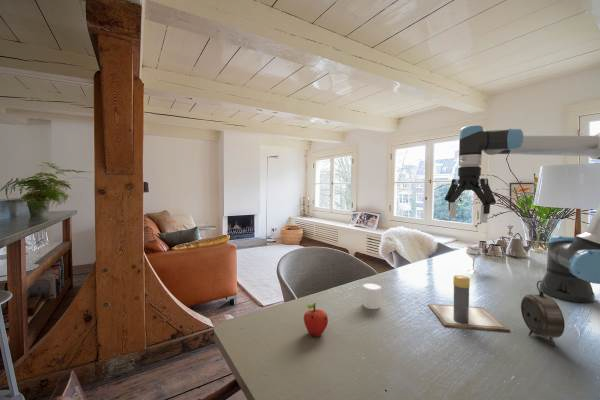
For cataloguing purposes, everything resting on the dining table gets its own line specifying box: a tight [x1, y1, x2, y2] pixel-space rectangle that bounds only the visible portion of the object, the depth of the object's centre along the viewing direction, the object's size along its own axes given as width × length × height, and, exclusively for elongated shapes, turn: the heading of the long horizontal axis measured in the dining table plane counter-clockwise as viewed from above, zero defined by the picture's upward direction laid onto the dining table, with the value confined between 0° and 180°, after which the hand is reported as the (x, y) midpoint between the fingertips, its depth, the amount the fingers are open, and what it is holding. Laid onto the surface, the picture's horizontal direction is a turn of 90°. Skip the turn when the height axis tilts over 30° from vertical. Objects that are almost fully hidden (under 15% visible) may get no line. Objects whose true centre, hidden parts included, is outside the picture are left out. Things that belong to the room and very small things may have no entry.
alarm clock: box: [520, 279, 565, 348], centre depth 73 cm, size 11×5×16 cm, turn 168°
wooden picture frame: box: [427, 303, 511, 332], centre depth 85 cm, size 18×14×1 cm
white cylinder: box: [361, 282, 383, 310], centre depth 92 cm, size 7×7×7 cm
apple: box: [303, 302, 329, 337], centre depth 74 cm, size 8×7×10 cm
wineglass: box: [465, 245, 483, 274], centre depth 129 cm, size 7×7×12 cm
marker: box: [452, 274, 471, 324], centre depth 81 cm, size 4×4×14 cm
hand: (467, 220), depth 104 cm, fingers open, 13 cm apart
